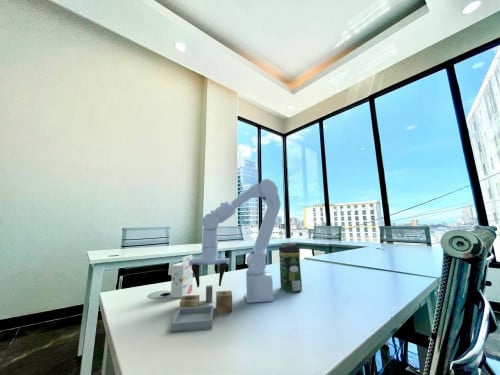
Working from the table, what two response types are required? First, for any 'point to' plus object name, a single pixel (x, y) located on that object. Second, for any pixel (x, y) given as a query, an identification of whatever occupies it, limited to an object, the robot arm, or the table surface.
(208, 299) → the gray metal block
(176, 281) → the ink cartridge box
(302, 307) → the table surface
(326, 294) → the table surface
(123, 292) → the table surface
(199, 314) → the tray
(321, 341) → the table surface
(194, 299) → the wooden square frame
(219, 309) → the walnut block
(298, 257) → the coffee jar
